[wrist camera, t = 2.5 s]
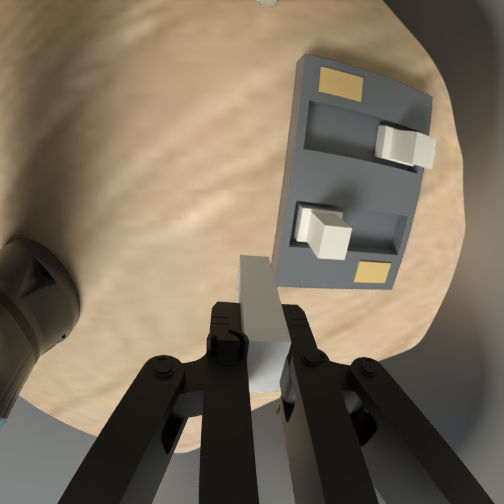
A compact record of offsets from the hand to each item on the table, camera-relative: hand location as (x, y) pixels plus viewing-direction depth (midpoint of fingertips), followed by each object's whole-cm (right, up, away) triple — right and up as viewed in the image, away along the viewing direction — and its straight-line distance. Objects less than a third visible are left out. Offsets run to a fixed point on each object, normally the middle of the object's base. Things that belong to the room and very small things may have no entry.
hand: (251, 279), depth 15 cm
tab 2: (+14, +12, +9) cm, 21 cm away
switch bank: (+10, +9, +12) cm, 18 cm away
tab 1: (+6, +4, +12) cm, 14 cm away
